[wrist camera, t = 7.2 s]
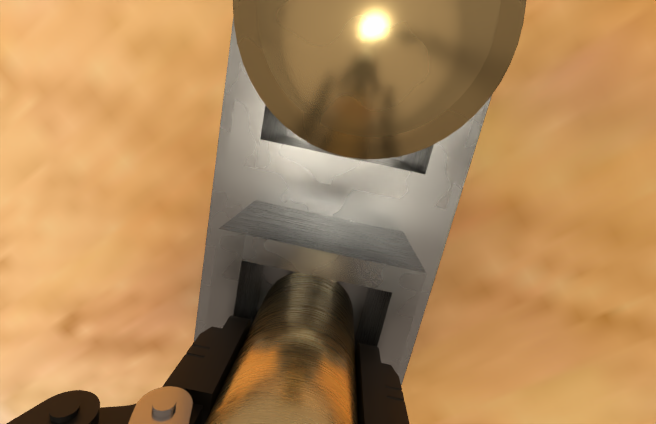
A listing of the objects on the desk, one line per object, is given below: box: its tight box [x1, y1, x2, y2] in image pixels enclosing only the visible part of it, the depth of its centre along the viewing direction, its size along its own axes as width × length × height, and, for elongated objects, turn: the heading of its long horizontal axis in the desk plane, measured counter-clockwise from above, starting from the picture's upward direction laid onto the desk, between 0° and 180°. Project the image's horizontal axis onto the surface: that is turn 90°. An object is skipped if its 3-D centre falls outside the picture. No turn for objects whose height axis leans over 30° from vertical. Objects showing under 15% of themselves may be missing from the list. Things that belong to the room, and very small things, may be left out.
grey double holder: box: [194, 0, 526, 385], centre depth 12 cm, size 12×20×11 cm, turn 168°
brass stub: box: [205, 272, 358, 424], centre depth 10 cm, size 5×5×10 cm
